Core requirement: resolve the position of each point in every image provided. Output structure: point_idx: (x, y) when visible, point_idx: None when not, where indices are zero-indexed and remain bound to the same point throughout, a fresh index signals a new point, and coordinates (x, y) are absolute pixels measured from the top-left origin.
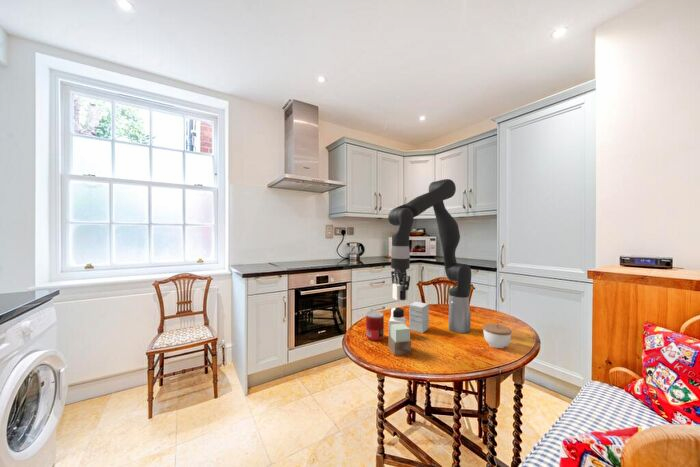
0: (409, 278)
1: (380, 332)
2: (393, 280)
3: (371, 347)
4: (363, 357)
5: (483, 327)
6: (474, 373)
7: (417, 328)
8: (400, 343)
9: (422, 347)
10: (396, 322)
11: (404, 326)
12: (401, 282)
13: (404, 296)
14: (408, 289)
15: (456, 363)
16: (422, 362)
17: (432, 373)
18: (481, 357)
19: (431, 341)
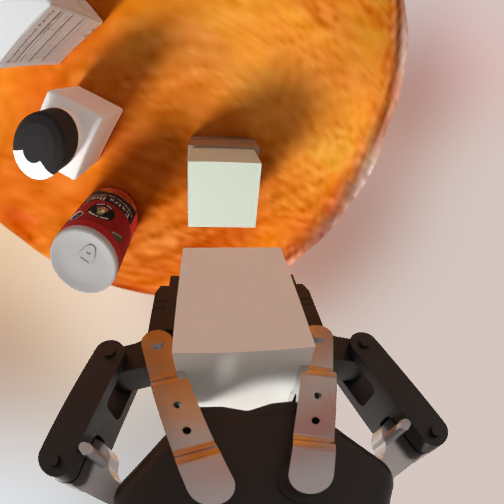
0: (438, 424)
1: (129, 215)
2: (124, 413)
3: (181, 243)
4: None
5: None
6: (404, 48)
7: (81, 37)
8: None
9: (222, 75)
10: (89, 148)
11: (227, 175)
12: (185, 376)
13: (309, 303)
14: (371, 337)
15: (353, 45)
16: (316, 134)
17: (369, 145)
18: None
19: (185, 19)
